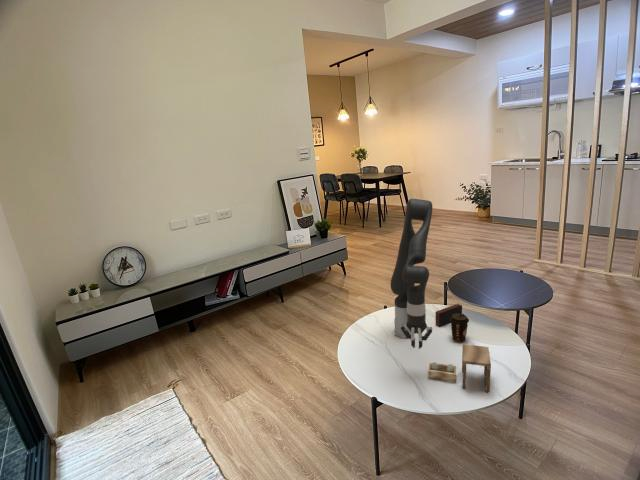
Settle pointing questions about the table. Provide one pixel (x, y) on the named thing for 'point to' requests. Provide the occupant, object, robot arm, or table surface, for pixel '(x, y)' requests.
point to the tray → (442, 372)
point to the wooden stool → (476, 361)
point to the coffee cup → (459, 327)
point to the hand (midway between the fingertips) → (416, 347)
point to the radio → (447, 314)
